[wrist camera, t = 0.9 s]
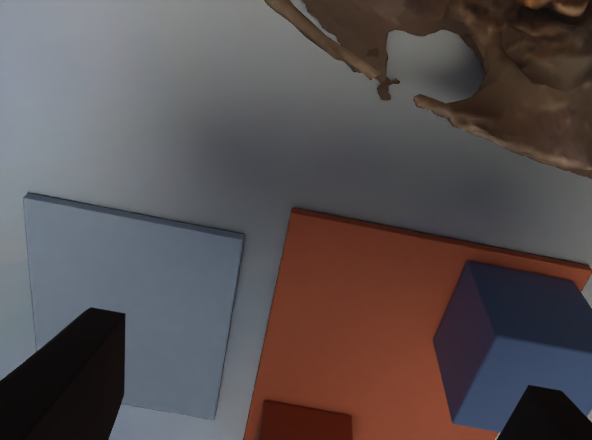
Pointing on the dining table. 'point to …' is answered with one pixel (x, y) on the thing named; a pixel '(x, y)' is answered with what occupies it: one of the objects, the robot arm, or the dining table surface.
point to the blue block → (512, 343)
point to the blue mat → (139, 294)
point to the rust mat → (371, 324)
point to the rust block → (301, 423)
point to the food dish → (483, 65)
